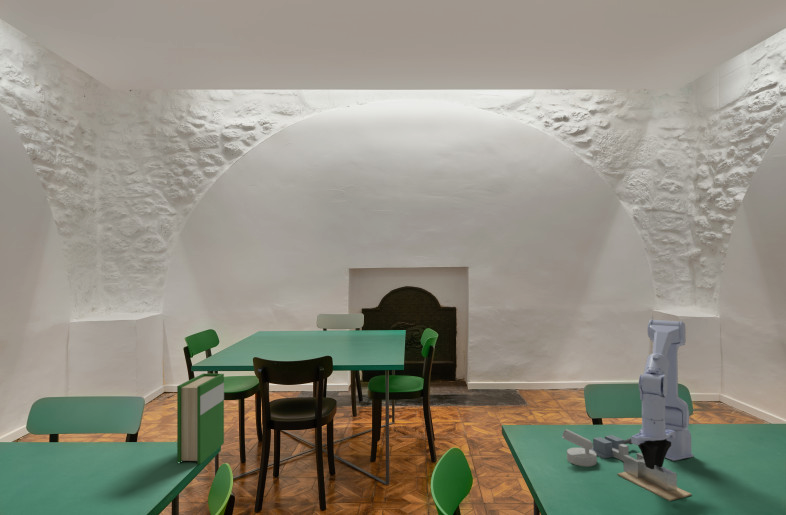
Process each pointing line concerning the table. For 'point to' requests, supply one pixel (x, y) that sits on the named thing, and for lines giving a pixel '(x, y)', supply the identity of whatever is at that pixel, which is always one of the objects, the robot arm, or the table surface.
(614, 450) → the vise
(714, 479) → the table surface
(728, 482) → the table surface
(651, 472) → the steel fork
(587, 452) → the wall hook
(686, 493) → the cork mat
